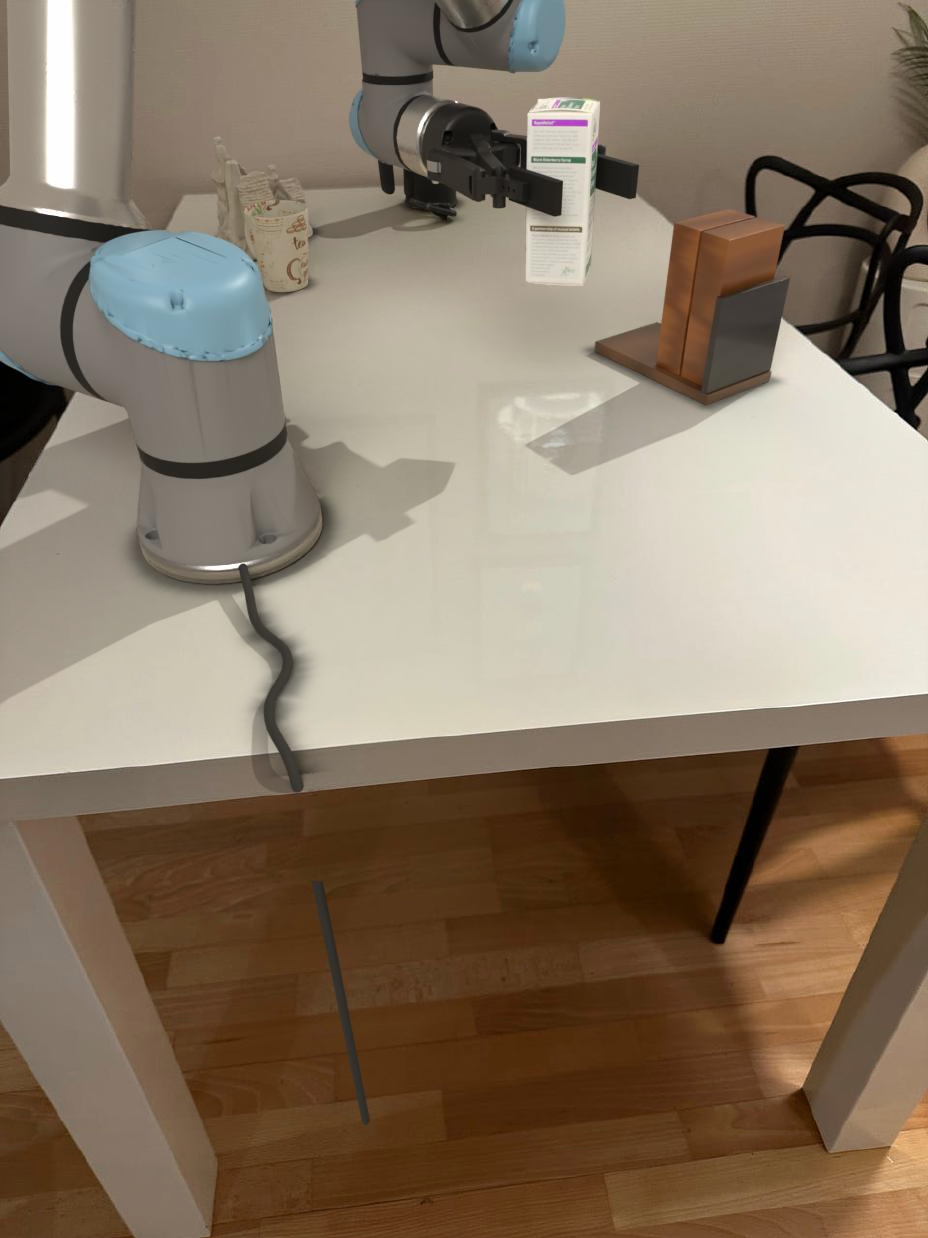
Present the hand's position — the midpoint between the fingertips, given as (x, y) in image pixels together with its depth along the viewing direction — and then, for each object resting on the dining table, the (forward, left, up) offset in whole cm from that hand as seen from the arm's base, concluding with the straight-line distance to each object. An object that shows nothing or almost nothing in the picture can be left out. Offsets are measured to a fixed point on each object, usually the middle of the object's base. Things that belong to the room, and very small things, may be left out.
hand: (597, 190), depth 77 cm
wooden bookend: (+15, -11, -22) cm, 29 cm away
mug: (+40, +42, -22) cm, 62 cm away
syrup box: (+4, +3, -9) cm, 10 cm away
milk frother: (+76, +24, -22) cm, 83 cm away
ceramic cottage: (+58, +48, -22) cm, 79 cm away
